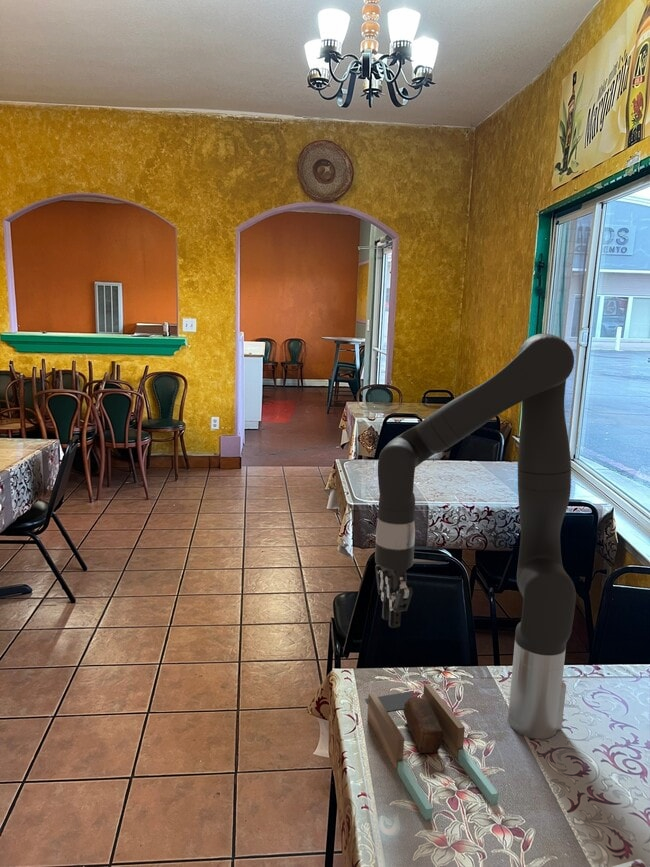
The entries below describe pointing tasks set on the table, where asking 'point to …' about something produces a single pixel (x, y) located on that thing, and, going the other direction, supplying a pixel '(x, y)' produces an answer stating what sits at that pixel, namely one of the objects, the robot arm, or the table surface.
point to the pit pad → (394, 701)
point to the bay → (470, 768)
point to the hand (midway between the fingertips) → (391, 622)
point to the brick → (423, 725)
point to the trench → (395, 740)
